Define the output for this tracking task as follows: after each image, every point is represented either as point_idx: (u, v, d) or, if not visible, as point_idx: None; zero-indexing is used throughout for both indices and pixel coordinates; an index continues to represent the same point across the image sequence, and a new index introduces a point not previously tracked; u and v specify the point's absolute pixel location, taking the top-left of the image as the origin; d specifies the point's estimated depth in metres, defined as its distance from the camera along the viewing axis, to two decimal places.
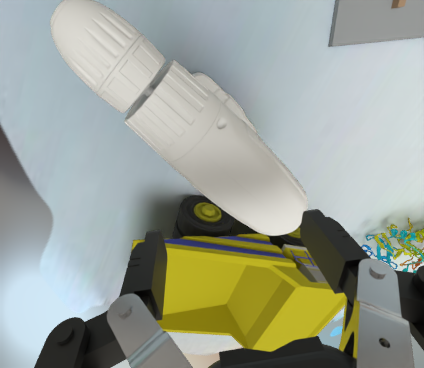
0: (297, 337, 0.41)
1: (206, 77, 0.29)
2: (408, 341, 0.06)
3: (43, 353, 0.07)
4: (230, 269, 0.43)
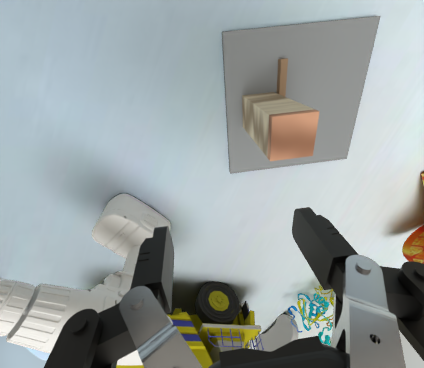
0: None
1: (117, 216, 0.37)
2: (397, 335, 0.06)
3: (59, 341, 0.07)
4: None
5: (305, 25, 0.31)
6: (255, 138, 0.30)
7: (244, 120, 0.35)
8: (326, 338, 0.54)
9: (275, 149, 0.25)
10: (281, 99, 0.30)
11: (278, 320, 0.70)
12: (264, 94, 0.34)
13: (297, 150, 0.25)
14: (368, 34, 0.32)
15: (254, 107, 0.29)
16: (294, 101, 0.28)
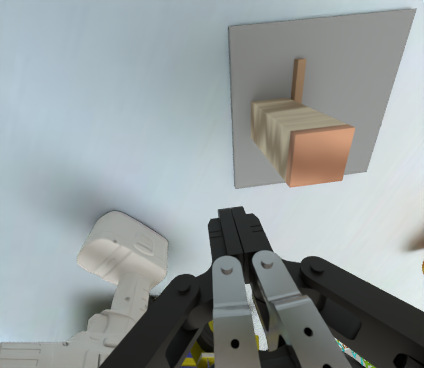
0: None
1: (106, 240, 0.32)
2: (317, 314, 0.07)
3: (166, 290, 0.08)
4: None
5: (328, 19, 0.26)
6: (268, 154, 0.25)
7: (253, 130, 0.31)
8: None
9: (297, 173, 0.20)
10: (300, 108, 0.25)
11: None
12: (277, 100, 0.29)
13: (324, 174, 0.20)
14: (401, 30, 0.27)
15: (268, 118, 0.24)
16: (317, 111, 0.23)
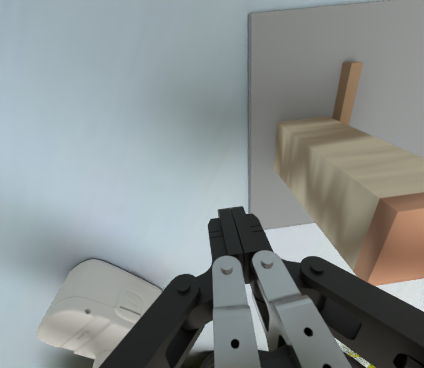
0: None
1: (74, 312, 0.23)
2: (317, 314, 0.07)
3: (167, 290, 0.08)
4: None
5: (398, 3, 0.17)
6: (310, 207, 0.17)
7: (279, 161, 0.22)
8: None
9: (383, 268, 0.11)
10: (360, 138, 0.16)
11: None
12: (315, 121, 0.20)
13: None
14: None
15: (313, 155, 0.15)
16: (395, 147, 0.14)
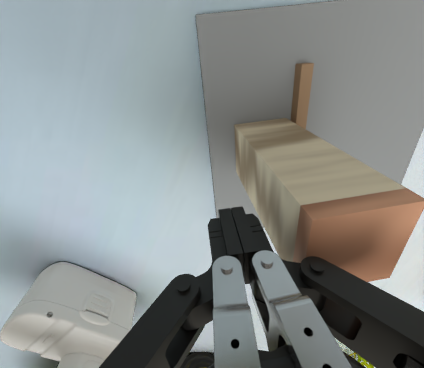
0: None
1: (35, 315, 0.23)
2: (317, 314, 0.07)
3: (166, 290, 0.08)
4: None
5: (346, 3, 0.17)
6: (260, 212, 0.16)
7: (238, 164, 0.22)
8: None
9: None
10: (307, 140, 0.16)
11: None
12: (271, 123, 0.20)
13: (359, 272, 0.11)
14: None
15: (258, 159, 0.15)
16: (337, 149, 0.14)
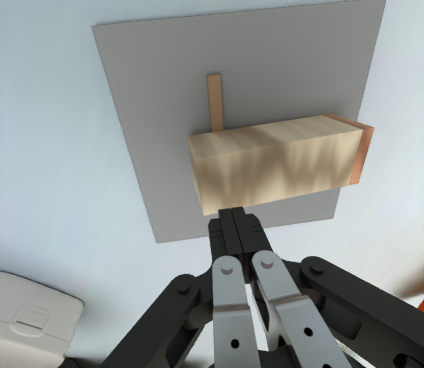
0: None
1: None
2: (317, 314, 0.07)
3: (166, 290, 0.08)
4: None
5: (248, 14, 0.17)
6: (294, 190, 0.19)
7: (218, 197, 0.17)
8: None
9: None
10: (258, 128, 0.19)
11: None
12: (205, 140, 0.18)
13: None
14: (365, 31, 0.18)
15: (292, 146, 0.16)
16: (275, 122, 0.20)
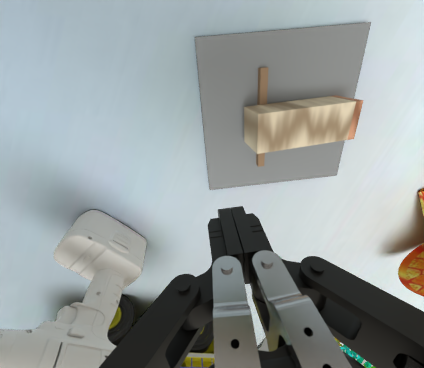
0: None
1: (81, 237, 0.33)
2: (317, 314, 0.07)
3: (166, 290, 0.08)
4: None
5: (287, 31, 0.28)
6: (313, 140, 0.29)
7: (267, 141, 0.28)
8: None
9: None
10: (289, 102, 0.30)
11: (265, 341, 0.66)
12: (257, 108, 0.29)
13: None
14: (358, 42, 0.29)
15: (313, 110, 0.27)
16: (300, 100, 0.31)
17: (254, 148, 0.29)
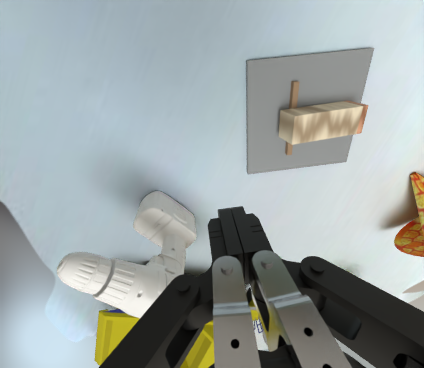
0: None
1: (156, 209, 0.44)
2: (317, 314, 0.07)
3: (166, 290, 0.08)
4: None
5: (313, 55, 0.39)
6: (332, 134, 0.40)
7: (299, 135, 0.39)
8: None
9: None
10: (314, 106, 0.41)
11: None
12: (291, 111, 0.40)
13: None
14: (364, 62, 0.40)
15: (333, 112, 0.38)
16: (320, 104, 0.42)
17: (289, 140, 0.40)
